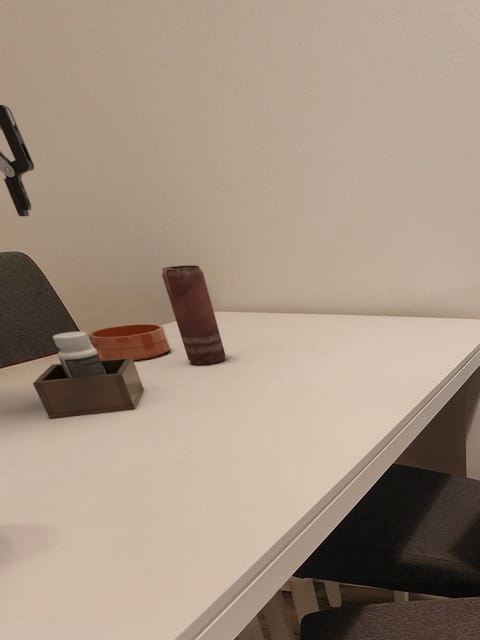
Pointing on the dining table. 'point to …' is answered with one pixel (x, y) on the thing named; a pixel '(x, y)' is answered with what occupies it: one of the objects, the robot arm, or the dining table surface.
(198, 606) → the dining table surface
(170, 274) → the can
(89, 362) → the pill bottle
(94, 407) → the holder
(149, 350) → the bowl
